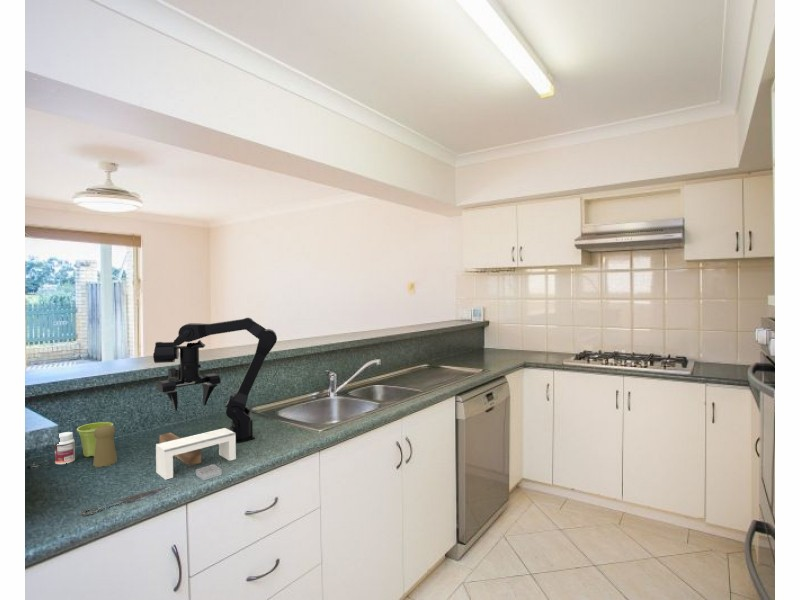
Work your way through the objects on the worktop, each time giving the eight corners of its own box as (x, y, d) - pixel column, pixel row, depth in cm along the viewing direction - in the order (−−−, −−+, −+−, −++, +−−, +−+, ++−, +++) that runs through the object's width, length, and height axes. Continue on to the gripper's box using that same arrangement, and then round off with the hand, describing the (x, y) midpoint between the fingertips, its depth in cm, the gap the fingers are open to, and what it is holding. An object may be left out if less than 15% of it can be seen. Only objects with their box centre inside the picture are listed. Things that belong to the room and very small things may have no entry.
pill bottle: (58, 459, 134) (57, 432, 134) (77, 457, 136) (76, 430, 136) (52, 465, 130) (51, 437, 130) (71, 463, 131) (71, 435, 131)
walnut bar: (170, 444, 148) (170, 432, 148) (201, 463, 132) (200, 450, 132) (159, 447, 146) (159, 435, 146) (189, 467, 130) (188, 453, 129)
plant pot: (104, 446, 146) (103, 420, 146) (119, 451, 141) (119, 424, 141) (71, 455, 138) (71, 427, 138) (86, 461, 133) (85, 433, 133)
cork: (113, 457, 136) (112, 422, 136) (120, 462, 132) (119, 425, 132) (90, 463, 131) (89, 426, 131) (96, 468, 128) (96, 431, 127)
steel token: (213, 471, 127) (213, 464, 127) (221, 476, 123) (221, 468, 123) (195, 476, 123) (195, 469, 123) (203, 481, 120) (203, 474, 120)
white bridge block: (225, 453, 139) (224, 427, 139) (235, 458, 135) (235, 432, 134) (156, 472, 125) (155, 444, 125) (165, 479, 120) (164, 450, 120)
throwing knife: (79, 513, 103) (78, 510, 103) (169, 484, 118) (169, 482, 118) (83, 519, 100) (83, 517, 100) (176, 489, 115) (176, 487, 115)
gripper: (207, 355, 159) (208, 398, 160) (150, 362, 146) (151, 409, 146) (221, 359, 152) (221, 404, 152) (162, 366, 138) (163, 415, 139)
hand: (190, 408), depth 148 cm, fingers open, 9 cm apart
